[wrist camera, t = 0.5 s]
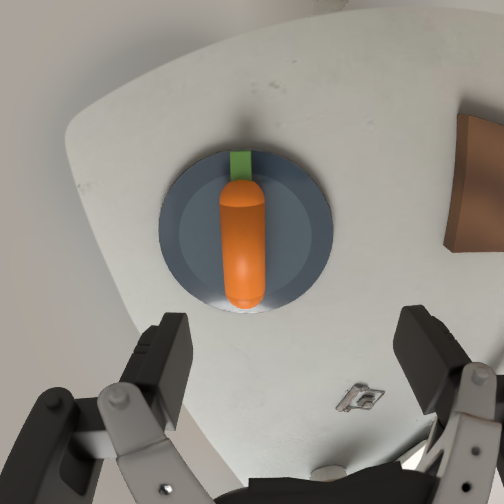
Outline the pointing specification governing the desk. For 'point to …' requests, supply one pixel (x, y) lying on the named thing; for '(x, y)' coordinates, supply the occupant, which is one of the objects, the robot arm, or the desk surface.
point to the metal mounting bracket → (364, 402)
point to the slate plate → (276, 229)
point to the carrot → (243, 234)
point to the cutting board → (477, 188)
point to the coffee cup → (328, 473)
